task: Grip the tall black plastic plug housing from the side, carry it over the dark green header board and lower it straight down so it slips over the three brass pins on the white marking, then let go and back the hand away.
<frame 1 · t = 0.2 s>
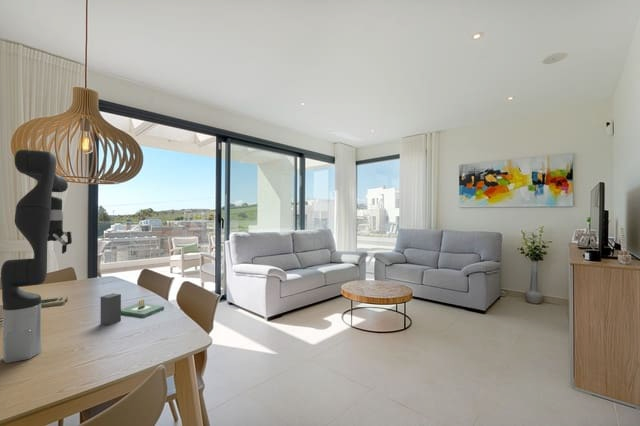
hand: (51, 253, 137), 29 cm above the table, tool pointing down, fingers open, 8 cm apart
header board: (141, 311, 145), on the table
computer: (46, 306, 152), on the table
plug housing: (110, 322, 130), on the table
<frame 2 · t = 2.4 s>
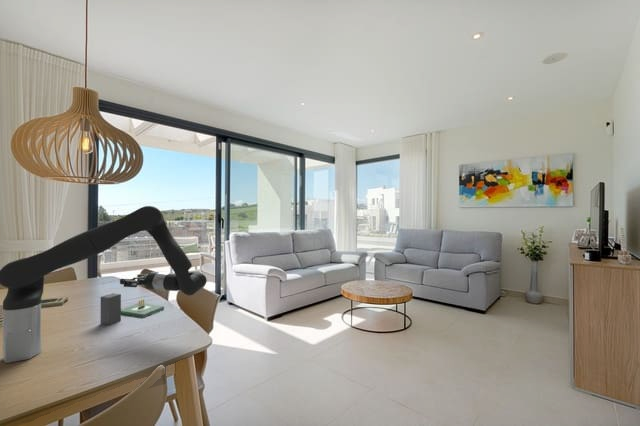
hand: (129, 278, 128), 20 cm above the table, tool horizontal, fingers open, 8 cm apart
nothing on the table moved.
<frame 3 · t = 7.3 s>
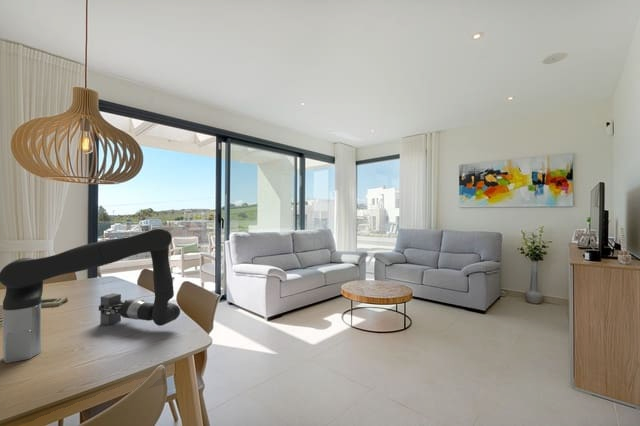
hand: (106, 305, 131), 7 cm above the table, tool horizontal, fingers closed on plug housing, 5 cm apart
plug housing: (110, 322, 130), on the table, touching gripper
when the fingers open (10 cm above the table, at t = 13.2 s): plug housing drops 1 cm, resting on header board.
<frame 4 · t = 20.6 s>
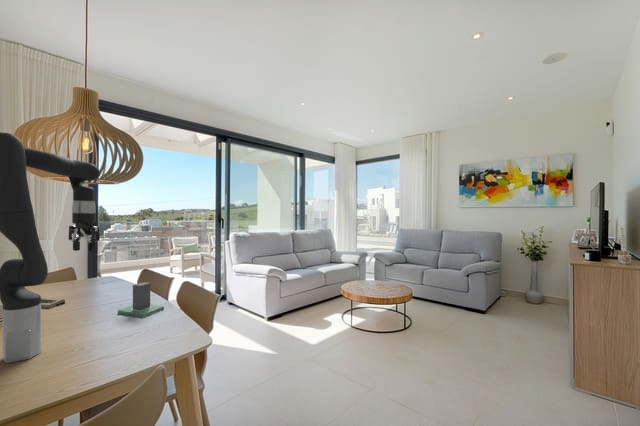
hand: (83, 251, 121), 33 cm above the table, tool pointing down, fingers open, 8 cm apart
plug housing: (141, 308, 145), point 2 cm above the table, touching header board
at the end: plug housing 0.1 cm off-centre on the header board, point 1.6 cm above the header board's base; plug housing tilted 0°; the gripper is holding nothing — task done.
